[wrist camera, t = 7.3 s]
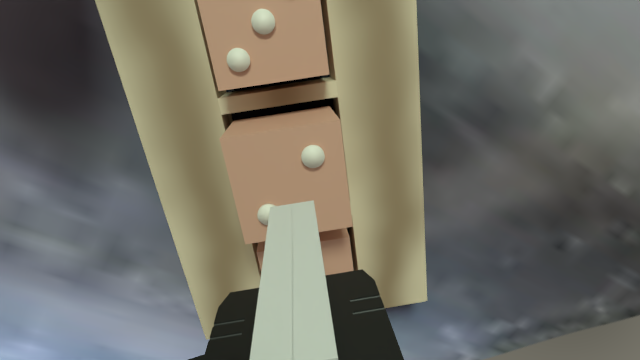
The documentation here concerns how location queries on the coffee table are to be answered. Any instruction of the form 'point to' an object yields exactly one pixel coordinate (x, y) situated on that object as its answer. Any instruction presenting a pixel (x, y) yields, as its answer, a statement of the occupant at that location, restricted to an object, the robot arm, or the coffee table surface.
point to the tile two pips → (287, 168)
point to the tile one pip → (328, 251)
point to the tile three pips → (264, 41)
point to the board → (216, 106)
